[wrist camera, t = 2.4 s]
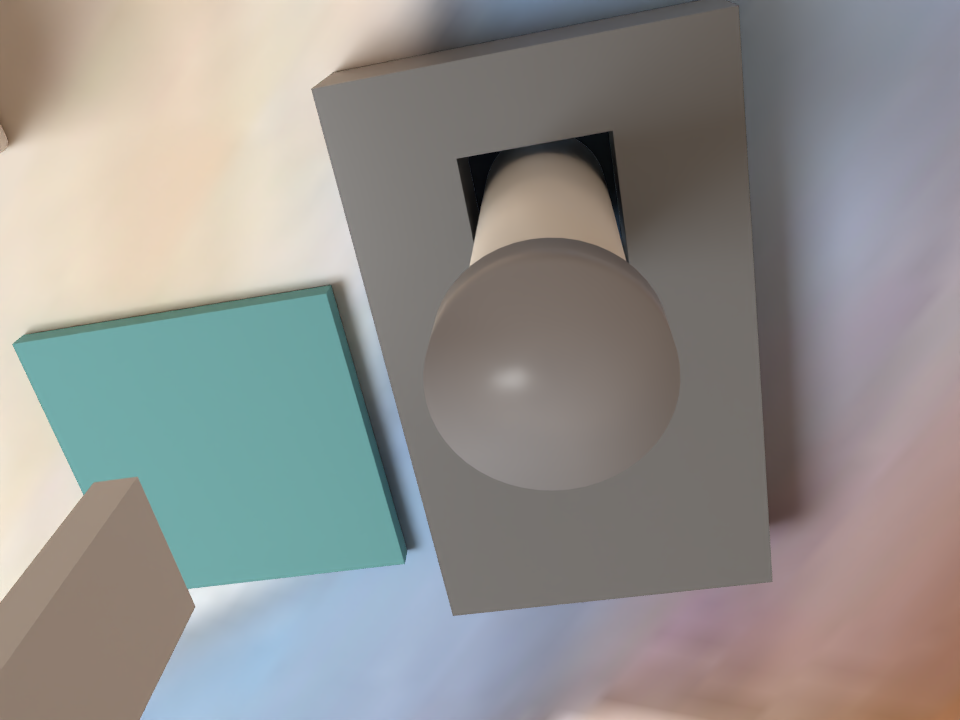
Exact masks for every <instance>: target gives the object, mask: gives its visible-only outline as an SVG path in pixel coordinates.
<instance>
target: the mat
mask: <svg viewBox="0 0 960 720" xmlns="http://www.w3.org/2000/svg"><path fill="white" fill-rule="evenodd" d="M12 345H13V347H14V349H15V351H16V353H17V355H18V357H19V360H20V362H21V364H22V366H23V368H24V370H25V372H26V374H27V376H28V379H29V381H30V383H31V385H32V387H33V389H34V391H35V393H36V395H37V398H38V400H39V402H40V404H41V406H42V408H43V410H44V412H45V414H46V417H47V419H48V421H49V423H50V425H51V427H52V429H53V431H54V433H55V436H56V438H57V440H58V442H59V444H60V446H61V448H62V450H63V452H64V455H65V457H66V459H67V461H68V463H69V465H70V467H71V469H72V472H73V474H74V476H75V478H76V480H77V482H78V484H79V486H80V488H81V491H82V493H83V495H84V494H85V493H86V492H87V490H88V489H89V488H90V487H91V485H92V484H93V483H94V482H101V481H108V480H116V479H123V478H131V477H138V478H139V481H140V483H141V485H142V488H143V490H144V492H145V494H146V497H147V499H148V501H149V503H150V506H151V508H152V510H153V512H154V515H155V517H156V519H157V521H158V524H159V526H160V528H161V530H162V533H163V535H164V537H165V539H166V542H167V544H168V546H169V548H170V551H171V553H172V555H173V557H174V560H175V562H176V564H177V566H178V569H179V571H180V573H181V575H182V578H183V580H184V582H185V585H186V587H187V589H191V588H200V587H208V586H217V585H226V584H234V583H243V582H252V581H260V580H269V579H278V578H286V577H295V576H304V575H312V574H321V573H330V572H338V571H347V570H355V569H364V568H373V567H381V566H390V565H399V564H405V560H406V555H407V548H406V545H405V541H404V538H403V534H402V531H401V527H400V524H399V521H398V517H397V514H396V510H395V507H394V503H393V500H392V496H391V493H390V489H389V486H388V482H387V479H386V475H385V472H384V468H383V465H382V461H381V458H380V454H379V451H378V447H377V444H376V440H375V437H374V433H373V430H372V426H371V423H370V419H369V416H368V412H367V409H366V405H365V402H364V398H363V395H362V392H361V388H360V385H359V381H358V378H357V374H356V371H355V367H354V364H353V360H352V357H351V353H350V350H349V346H348V343H347V339H346V336H345V332H344V329H343V325H342V322H341V318H340V315H339V311H338V308H337V304H336V301H335V297H334V294H333V290H332V287H331V285H328V286H322V287H316V288H309V289H303V290H297V291H291V292H285V293H279V294H272V295H266V296H260V297H254V298H248V299H242V300H236V301H229V302H223V303H217V304H211V305H205V306H199V307H192V308H186V309H180V310H174V311H168V312H162V313H156V314H149V315H143V316H137V317H131V318H125V319H119V320H113V321H106V322H100V323H94V324H88V325H82V326H76V327H69V328H63V329H57V330H51V331H45V332H39V333H33V334H26V335H23V336H22V337H21V338H19V339H18V340H17V341H16V342H14V343H13V344H12Z"/></svg>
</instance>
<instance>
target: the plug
mask: <svg viewBox="0 0 960 720" xmlns="http://www.w3.org/2000/svg"><path fill="white" fill-rule="evenodd" d="M423 385H424V393H425V399H426V404H427V407H428V410H429V413H430V416H431V418H432V420H433V422H434V424H435V426H436V428H437V430H438V431H439V433H440V434H441V436H442V437H443V439H444V440H445V442H446V443H447V444H448V445H449V446H450V447H451V448H452V450H453V451H454V452H455V453H456V454H457V455H458V456H460V457H461V458H462V459H463V460H464V461H465V462H466V463H468V464H469V465H471V466H472V467H474V468H475V469H477V470H478V471H480V472H482V473H484V474H485V475H487V476H489V477H491V478H493V479H496V480H499V481H501V482H504V483H506V484H510V485H514V486H517V487H521V488H527V489H534V490H550V491H555V490H569V489H575V488H581V487H586V486H589V485H592V484H596V483H599V482H602V481H604V480H606V479H609V478H611V477H614V476H615V475H617V474H619V473H621V472H623V471H624V470H626V469H628V468H629V467H631V466H632V465H633V464H635V463H636V462H637V461H639V460H640V459H641V458H642V457H643V456H644V455H645V454H646V453H647V452H649V451H650V450H651V449H652V447H653V446H654V445H655V444H656V442H657V441H658V440H659V439H660V438H661V436H662V434H663V433H664V431H665V430H666V428H667V426H668V425H669V423H670V420H671V418H672V416H673V413H674V411H675V408H676V404H677V401H678V397H679V389H680V364H679V358H678V353H677V349H676V346H675V343H674V340H673V337H672V333H671V330H670V327H669V324H668V321H667V318H666V315H665V312H664V309H663V306H662V304H661V302H660V300H659V298H658V296H657V294H656V293H655V291H654V290H653V288H652V287H651V286H650V284H649V283H648V281H647V280H646V279H645V278H644V277H643V276H642V275H641V274H640V273H639V272H638V271H637V270H636V269H635V268H634V267H633V266H632V265H630V264H629V263H628V262H626V258H625V254H624V250H623V246H622V243H621V239H620V235H619V231H618V227H617V223H616V219H615V215H614V212H613V208H612V204H611V200H610V196H609V192H608V188H607V184H606V181H605V177H604V173H603V170H602V167H601V165H600V163H599V161H598V160H597V158H596V157H595V155H594V154H593V153H592V152H591V151H590V149H589V148H588V147H586V146H585V145H584V144H583V143H582V142H580V141H578V140H577V139H575V138H569V139H563V140H558V141H552V142H547V143H541V144H536V145H530V146H524V147H519V148H513V149H508V150H502V151H501V152H500V153H499V155H498V156H497V157H496V158H495V160H494V162H493V163H492V165H491V168H490V170H489V172H488V176H487V179H486V185H485V190H484V195H483V200H482V205H481V210H480V215H479V220H478V225H477V230H476V235H475V240H474V246H473V251H472V256H471V261H470V266H469V268H468V269H467V270H465V271H464V272H463V273H462V274H461V275H460V276H459V277H458V279H457V280H456V281H455V282H454V283H453V285H452V286H451V287H450V289H449V290H448V292H447V293H446V295H445V297H444V298H443V300H442V302H441V305H440V307H439V309H438V312H437V315H436V318H435V322H434V325H433V329H432V333H431V337H430V341H429V345H428V349H427V353H426V357H425V363H424V371H423Z"/></svg>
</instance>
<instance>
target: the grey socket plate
mask: <svg viewBox="0 0 960 720" xmlns="http://www.w3.org/2000/svg"><path fill="white" fill-rule="evenodd" d="M312 93H313V97H314V101H315V104H316V108H317V112H318V116H319V119H320V123H321V127H322V130H323V134H324V138H325V142H326V145H327V149H328V153H329V156H330V160H331V164H332V168H333V171H334V175H335V179H336V182H337V186H338V190H339V194H340V197H341V201H342V205H343V208H344V212H345V216H346V220H347V223H348V227H349V231H350V234H351V238H352V242H353V246H354V249H355V253H356V257H357V261H358V264H359V268H360V272H361V275H362V279H363V283H364V287H365V290H366V294H367V298H368V301H369V305H370V309H371V313H372V316H373V320H374V324H375V327H376V331H377V335H378V339H379V342H380V346H381V350H382V353H383V357H384V361H385V365H386V368H387V372H388V376H389V379H390V383H391V387H392V391H393V394H394V398H395V402H396V405H397V409H398V413H399V417H400V420H401V424H402V428H403V432H404V435H405V439H406V443H407V446H408V450H409V454H410V458H411V461H412V465H413V469H414V472H415V476H416V480H417V484H418V487H419V491H420V495H421V498H422V502H423V506H424V510H425V513H426V517H427V521H428V524H429V528H430V532H431V536H432V539H433V543H434V547H435V550H436V554H437V558H438V562H439V565H440V569H441V573H442V576H443V580H444V584H445V588H446V591H447V595H448V599H449V603H450V606H451V610H452V614H453V616H456V615H465V614H475V613H484V612H493V611H503V610H512V609H522V608H531V607H540V606H550V605H559V604H569V603H578V602H588V601H597V600H606V599H616V598H625V597H635V596H644V595H653V594H663V593H672V592H682V591H691V590H700V589H710V588H719V587H729V586H738V585H747V584H757V583H766V582H772V565H771V548H770V531H769V514H768V497H767V480H766V463H765V446H764V429H763V412H762V395H761V378H760V361H759V344H758V327H757V310H756V293H755V276H754V259H753V242H752V225H751V208H750V191H749V174H748V157H747V140H746V123H745V106H744V89H743V72H742V55H741V38H740V21H739V6H738V5H736V4H734V3H732V2H729V1H727V0H698V1H693V2H688V3H683V4H678V5H673V6H668V7H663V8H658V9H652V10H647V11H642V12H637V13H632V14H627V15H622V16H617V17H612V18H607V19H602V20H597V21H592V22H587V23H581V24H576V25H571V26H566V27H561V28H556V29H551V30H546V31H541V32H536V33H531V34H526V35H521V36H516V37H511V38H505V39H500V40H495V41H490V42H485V43H480V44H475V45H470V46H465V47H460V48H455V49H450V50H445V51H440V52H434V53H429V54H424V55H419V56H414V57H409V58H404V59H399V60H394V61H389V62H384V63H379V64H374V65H369V66H363V67H358V68H353V69H348V70H343V71H338V72H333V73H332V74H330V75H329V76H328V77H327V78H325V79H324V80H323V81H321V82H320V83H319V84H317V85H316V86H315V87H313V88H312ZM602 132H608V133H609V141H610V148H611V156H612V164H613V172H614V180H615V188H616V196H617V204H618V211H619V219H620V227H621V235H622V243H623V250H624V254H625V258H626V262H628V263H629V264H630V265H632V266H633V267H634V268H635V269H636V270H637V271H638V272H639V273H640V274H641V275H642V276H643V277H644V278H645V279H646V280H647V281H648V283H649V284H650V286H651V287H652V288H653V290H654V291H655V293H656V294H657V296H658V298H659V300H660V302H661V304H662V306H663V309H664V312H665V315H666V318H667V321H668V324H669V327H670V330H671V333H672V337H673V340H674V343H675V346H676V349H677V353H678V358H679V364H680V389H679V397H678V401H677V404H676V408H675V411H674V413H673V416H672V418H671V420H670V423H669V425H668V426H667V428H666V430H665V431H664V433H663V434H662V436H661V438H660V439H659V440H658V441H657V442H656V444H655V445H654V446H653V447H652V449H651V450H650V451H649V452H647V453H646V454H645V455H644V456H643V457H642V458H641V459H640V460H639V461H637V462H636V463H635V464H633V465H632V466H631V467H629V468H628V469H626V470H624V471H623V472H621V473H619V474H617V475H615V476H614V477H611V478H609V479H606V480H604V481H602V482H599V483H596V484H592V485H589V486H586V487H581V488H575V489H569V490H555V491H550V490H534V489H527V488H521V487H517V486H514V485H510V484H506V483H504V482H501V481H499V480H496V479H493V478H491V477H489V476H487V475H485V474H484V473H482V472H480V471H478V470H477V469H475V468H474V467H472V466H471V465H469V464H468V463H466V462H465V461H464V460H463V459H462V458H461V457H460V456H458V455H457V454H456V453H455V452H454V451H453V450H452V448H451V447H450V446H449V445H448V444H447V443H446V442H445V440H444V439H443V437H442V436H441V434H440V433H439V431H438V430H437V428H436V426H435V424H434V422H433V420H432V418H431V416H430V413H429V410H428V407H427V404H426V399H425V393H424V385H423V371H424V363H425V357H426V353H427V349H428V345H429V341H430V337H431V333H432V329H433V325H434V322H435V318H436V315H437V312H438V309H439V307H440V305H441V302H442V300H443V298H444V297H445V295H446V293H447V292H448V290H449V289H450V287H451V286H452V285H453V283H454V282H455V281H456V280H457V279H458V277H459V276H460V275H461V274H462V273H463V272H464V271H465V270H467V269H468V268H469V266H470V261H471V256H472V251H473V246H474V240H475V235H476V230H477V225H478V220H479V215H480V214H479V209H478V204H477V199H476V194H475V189H474V184H473V179H472V174H471V169H470V164H469V159H468V157H469V156H474V155H480V154H485V153H491V152H497V151H502V150H508V149H513V148H519V147H524V146H530V145H536V144H541V143H547V142H552V141H558V140H563V139H569V138H575V137H580V136H586V135H591V134H597V133H602Z"/></svg>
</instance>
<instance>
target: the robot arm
mask: <svg viewBox="0 0 960 720" xmlns="http://www.w3.org/2000/svg"><path fill="white" fill-rule="evenodd" d="M194 608H195V605H194V603H193V600H192V598H191V596H190V594H189V591H188V589H187V587H186V585H185V582H184V580H183V578H182V575H181V573H180V571H179V569H178V566H177V564H176V562H175V560H174V557H173V555H172V553H171V551H170V548H169V546H168V544H167V542H166V539H165V537H164V535H163V533H162V530H161V528H160V526H159V524H158V521H157V519H156V517H155V515H154V512H153V510H152V508H151V506H150V503H149V501H148V499H147V497H146V494H145V492H144V490H143V488H142V485H141V483H140V481H139V478H138V477H131V478H123V479H116V480H108V481H101V482H94V483H93V484H92V485H91V487H90V488H89V489H88V490H87V492H86V493H85V494H84V496H83V497H82V498H81V499H80V501H79V502H78V503H77V505H76V506H75V507H74V508H73V510H72V511H71V512H70V514H69V515H68V516H67V517H66V519H65V520H64V521H63V523H62V524H61V525H60V526H59V528H58V529H57V530H56V532H55V533H54V534H53V536H52V537H51V538H50V539H49V541H48V542H47V543H46V545H45V546H44V547H43V548H42V550H41V551H40V552H39V554H38V555H37V556H36V557H35V559H34V560H33V561H32V563H31V564H30V565H29V566H28V568H27V569H26V570H25V572H24V573H23V574H22V575H21V577H20V578H19V579H18V581H17V582H16V583H15V584H14V586H13V587H12V588H11V590H10V591H9V592H8V594H7V595H6V596H5V597H4V599H3V600H2V601H1V603H0V720H140V718H141V716H142V714H143V712H144V710H145V708H146V706H147V704H148V701H149V699H150V697H151V695H152V693H153V691H154V689H155V687H156V685H157V683H158V681H159V679H160V677H161V675H162V673H163V671H164V669H165V667H166V665H167V663H168V661H169V659H170V657H171V655H172V653H173V651H174V649H175V647H176V645H177V643H178V641H179V639H180V637H181V635H182V633H183V631H184V628H185V626H186V624H187V622H188V620H189V618H190V616H191V614H192V612H193V610H194Z"/></svg>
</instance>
